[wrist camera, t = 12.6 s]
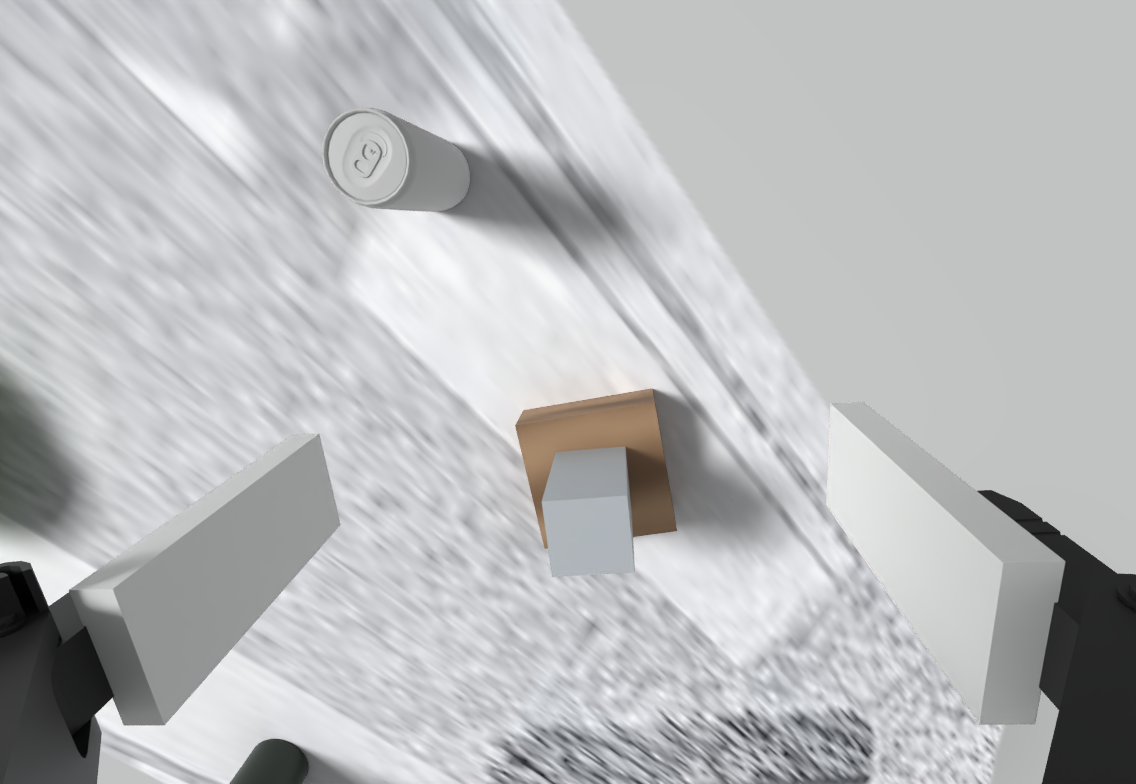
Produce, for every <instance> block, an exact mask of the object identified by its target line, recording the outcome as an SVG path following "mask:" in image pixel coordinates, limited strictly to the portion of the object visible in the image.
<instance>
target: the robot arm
mask: <svg viewBox="0 0 1136 784" xmlns="http://www.w3.org/2000/svg"><path fill="white" fill-rule="evenodd" d="M826 506H827V507H828V508H829V510H830V511H831V513H832V514H833V516H834V517H835V518H836V520H837V521H838V523H839V524H840V526H841V527H842V528H843V530H844V531H845V533H846V534H847V536H848V537H849V539H850V540H851V541H852V543H853V544H854V546H855V547H856V549H857V550H858V551H859V553H860V554H861V556H862V557H863V559H864V560H865V561H866V563H867V564H868V566H869V567H870V569H871V570H872V571H873V573H874V574H875V576H876V577H877V579H878V580H879V582H880V583H881V584H882V586H883V587H884V589H885V590H886V592H887V593H888V594H889V596H890V597H891V599H892V600H893V602H894V603H895V604H896V606H897V607H898V609H899V610H900V612H901V613H902V614H903V616H904V617H905V619H906V620H907V622H908V623H909V625H910V626H911V627H912V629H913V630H914V632H915V633H916V635H917V636H918V637H919V639H920V640H921V642H922V643H923V645H924V646H925V647H926V649H927V650H928V652H929V653H930V655H931V656H932V657H933V659H934V660H935V662H936V663H937V665H938V666H939V667H940V669H941V670H942V672H943V673H944V675H945V676H946V678H947V679H948V680H949V682H950V683H951V685H952V686H953V688H954V689H955V690H956V692H957V693H958V695H959V696H960V698H961V699H962V700H963V702H964V703H965V705H966V706H967V708H968V709H969V710H970V712H971V713H972V715H973V716H974V718H975V719H976V721H977V722H978V723H979V724H1035V722H1036V717H1037V711H1038V706H1039V701H1040V695H1041V690H1042V691H1043V692H1044V693H1045V695H1047V697H1048V698H1049V699H1050V700H1051V701H1052V702H1053V703H1054V705H1055V706H1056V707H1057V708H1058V709H1059V714H1058V718H1057V722H1056V727H1055V731H1054V735H1053V739H1052V743H1051V748H1050V752H1049V756H1048V761H1047V765H1046V769H1045V773H1044V777H1043V782H1042V784H1136V575H1135V574H1117V573H1116V572H1114V571H1113V570H1112V569H1110V568H1109V567H1108V566H1106V565H1105V564H1103V563H1102V562H1101V561H1099V560H1098V559H1097V558H1095V557H1094V556H1093V555H1091V554H1090V553H1088V552H1087V551H1085V550H1084V549H1083V548H1082V547H1080V546H1079V545H1077V544H1076V543H1075V542H1074V541H1072V540H1071V539H1069V538H1068V537H1067V536H1065V535H1061V534H1060V531H1058V530H1057V529H1056V528H1054V527H1053V526H1052V525H1050V524H1049V523H1048V522H1043V521H1042V518H1041V517H1039V516H1038V515H1036V514H1035V513H1034V512H1033V511H1031V510H1030V509H1029V508H1027V507H1026V506H1024V505H1023V504H1022V503H1020V502H1018V501H1015V500H1013V499H1011V498H1008V497H1006V496H1004V495H1001V494H999V493H996V492H994V491H992V490H984V491H976V490H975V489H973V488H972V487H971V486H970V485H968V484H967V483H966V482H964V481H963V480H962V479H961V478H959V477H958V476H957V475H956V474H954V473H953V472H952V471H950V470H949V469H948V468H947V467H946V466H944V465H943V464H942V463H940V462H939V461H938V460H937V459H935V458H934V457H933V456H932V455H930V454H929V453H928V452H926V451H925V450H924V449H923V448H921V447H920V446H919V445H918V444H916V443H915V442H914V441H913V440H911V439H910V438H909V437H908V436H906V435H905V434H904V433H902V432H901V431H900V430H899V429H897V428H896V427H895V426H894V425H892V424H891V423H890V422H889V421H887V420H886V419H885V418H884V417H882V416H881V415H880V414H878V413H877V412H876V411H875V410H874V409H872V408H871V407H870V406H868V405H867V404H866V403H865V402H854V403H853V402H852V403H835V404H831V410H830V433H829V455H828V478H827V501H826ZM339 526H340V520H339V516H338V512H337V507H336V503H335V499H334V495H333V490H332V486H331V482H330V478H329V473H328V469H327V465H326V461H325V456H324V452H323V448H322V444H321V439H320V435H319V434H302V435H292V436H290V437H289V438H287V439H286V440H284V441H283V442H281V443H280V444H279V445H277V446H276V447H274V448H273V449H271V450H270V451H268V452H267V453H266V454H264V455H263V456H261V457H260V458H258V459H257V460H256V461H254V462H253V463H251V464H250V465H248V466H247V467H245V468H244V469H243V470H241V471H240V472H238V473H237V474H235V475H234V476H233V477H231V478H230V479H228V480H227V481H225V482H224V483H222V484H221V485H220V486H218V487H217V488H215V489H214V490H212V491H211V492H210V493H208V494H207V495H205V496H204V497H202V498H201V499H199V500H198V501H197V502H195V503H194V504H192V505H191V506H189V507H188V508H187V509H185V510H184V511H182V512H181V513H179V514H178V515H176V516H175V517H174V518H172V519H171V520H169V521H168V522H166V523H165V524H163V525H162V526H161V527H159V528H158V529H156V530H155V531H153V532H152V533H151V534H149V535H148V536H146V537H145V538H143V539H142V540H140V541H139V542H138V543H136V544H135V545H133V546H132V547H130V548H129V549H128V550H126V551H125V552H123V553H122V554H120V555H119V556H117V557H116V558H115V559H113V560H112V561H110V562H109V563H107V564H106V565H105V566H103V567H102V568H100V569H99V570H97V571H96V572H94V573H93V574H92V575H90V576H89V577H87V578H86V579H84V580H83V581H81V582H80V583H79V584H77V585H76V586H74V587H73V588H71V589H70V590H69V593H67V594H66V595H64V596H63V597H62V598H60V599H59V600H57V601H56V602H54V603H53V604H52V605H50V606H48V604H47V602H46V599H45V597H44V595H43V592H42V590H41V587H40V585H39V583H38V580H37V578H36V576H35V573H34V571H33V569H32V566H31V564H30V563H27V562H23V561H17V562H7V563H2V564H0V784H97V775H98V765H99V755H100V754H99V753H100V744H101V734H102V733H101V730H100V727H99V725H98V722H97V720H96V717H95V714H96V713H97V712H98V711H99V710H100V709H101V708H102V707H103V706H104V705H105V704H106V703H107V702H108V701H109V700H110V699H111V698H112V697H113V700H114V702H115V705H116V707H117V710H118V712H119V714H120V717H121V719H122V722H123V724H124V725H165V724H166V723H167V722H168V721H169V719H170V718H171V717H172V716H173V715H174V714H175V713H176V712H177V710H178V709H179V708H180V707H181V706H182V705H183V704H184V702H185V701H186V700H187V699H188V698H189V697H190V696H191V694H192V693H193V692H194V691H195V690H196V689H197V688H198V686H199V685H200V684H201V683H202V682H203V681H204V680H205V679H206V677H207V676H208V675H209V674H210V673H211V672H212V671H213V669H214V668H215V667H216V666H217V665H218V664H219V663H220V661H221V660H222V659H223V658H224V657H225V656H226V655H227V653H228V652H229V651H230V650H231V649H232V648H233V647H234V645H235V644H236V643H237V642H238V641H239V640H240V639H241V638H242V636H243V635H244V634H245V633H246V632H247V631H248V630H249V628H250V627H251V626H252V625H253V624H254V623H255V622H256V620H257V619H258V618H259V617H260V616H261V615H262V614H263V612H264V611H265V610H266V609H267V608H268V607H269V606H270V605H271V603H272V602H273V601H274V600H275V599H276V598H277V597H278V595H279V594H280V593H281V592H282V591H283V590H284V589H285V587H286V586H287V585H288V584H289V583H290V582H291V581H292V579H293V578H294V577H295V576H296V575H297V574H298V573H299V571H300V570H301V569H302V568H303V567H304V566H305V565H306V564H307V562H308V561H309V560H310V559H311V558H312V557H313V556H314V554H315V553H316V552H317V551H318V550H319V549H320V548H321V546H322V545H323V544H324V543H325V542H326V541H327V540H328V538H329V537H330V536H331V535H332V534H333V533H334V532H335V531H336V529H337V528H338V527H339Z"/></svg>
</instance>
